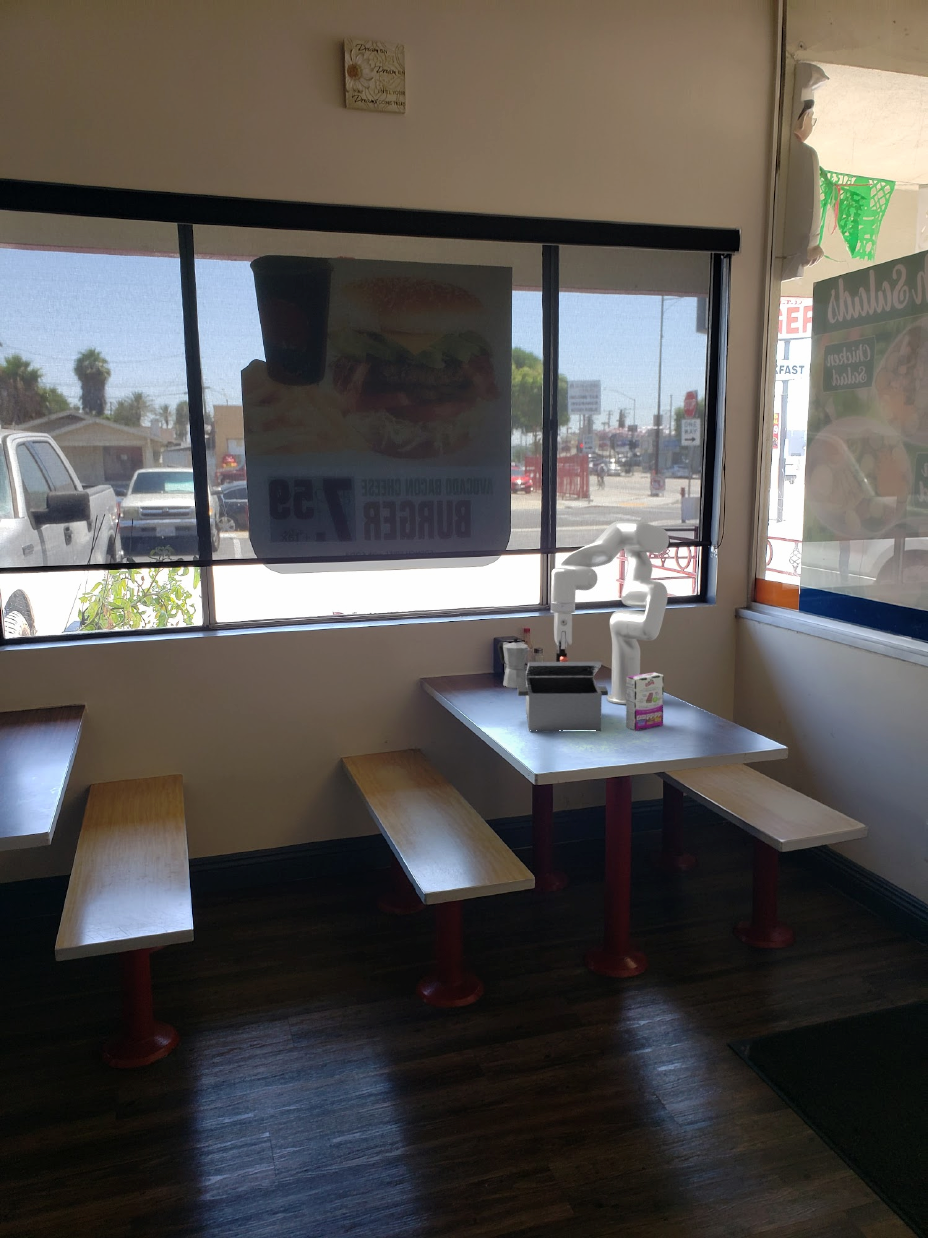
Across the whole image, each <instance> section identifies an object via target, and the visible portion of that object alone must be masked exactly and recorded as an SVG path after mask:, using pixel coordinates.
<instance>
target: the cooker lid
mask: <svg viewBox="0 0 928 1238" xmlns="http://www.w3.org/2000/svg"><path fill="white" fill-rule="evenodd" d="M568 660H569V658H568V656H567V657H560V662H556V661H528V663H527V668H526V677H594V676H595V674H596V673H597V672H598V671H599V669H600V668H601V666H602V661H568Z"/></svg>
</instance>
